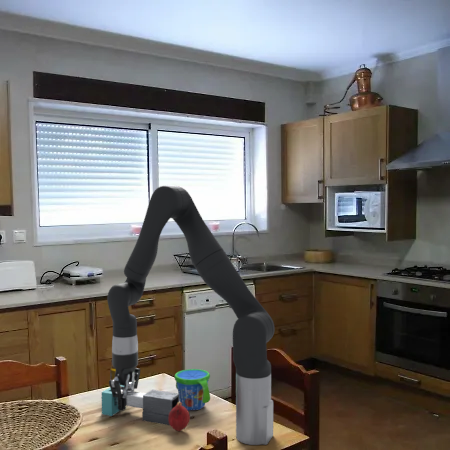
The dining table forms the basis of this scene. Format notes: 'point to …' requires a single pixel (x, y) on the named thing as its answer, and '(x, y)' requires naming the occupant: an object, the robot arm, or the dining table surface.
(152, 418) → the sleeve
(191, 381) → the snack cup
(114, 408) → the socket
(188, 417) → the onion
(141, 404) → the slip tube
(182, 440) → the dining table surface
